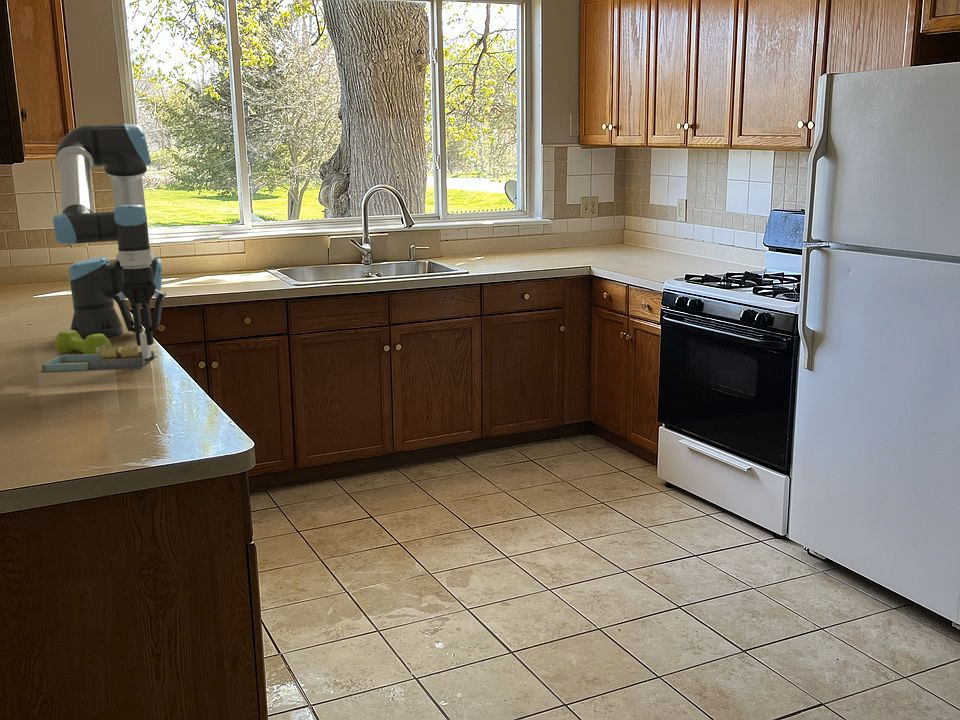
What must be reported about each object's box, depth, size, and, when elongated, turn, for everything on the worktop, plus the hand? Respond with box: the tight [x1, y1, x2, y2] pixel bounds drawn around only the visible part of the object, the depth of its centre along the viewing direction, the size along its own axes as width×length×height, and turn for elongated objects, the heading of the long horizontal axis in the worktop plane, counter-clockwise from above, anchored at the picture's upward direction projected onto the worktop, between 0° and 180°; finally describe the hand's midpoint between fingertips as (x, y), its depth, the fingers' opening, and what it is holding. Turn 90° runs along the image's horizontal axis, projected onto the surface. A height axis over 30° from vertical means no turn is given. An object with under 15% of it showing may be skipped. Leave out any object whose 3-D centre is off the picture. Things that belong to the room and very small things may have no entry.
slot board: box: [84, 350, 159, 372], centre depth 239 cm, size 14×14×4 cm
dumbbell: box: [53, 329, 112, 355], centre depth 254 cm, size 16×8×7 cm, turn 57°
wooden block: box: [100, 346, 122, 359], centre depth 239 cm, size 4×4×4 cm
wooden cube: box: [121, 345, 141, 359], centre depth 239 cm, size 4×4×4 cm
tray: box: [41, 353, 100, 372], centre depth 239 cm, size 11×11×3 cm
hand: (146, 357), depth 239 cm, fingers closed
